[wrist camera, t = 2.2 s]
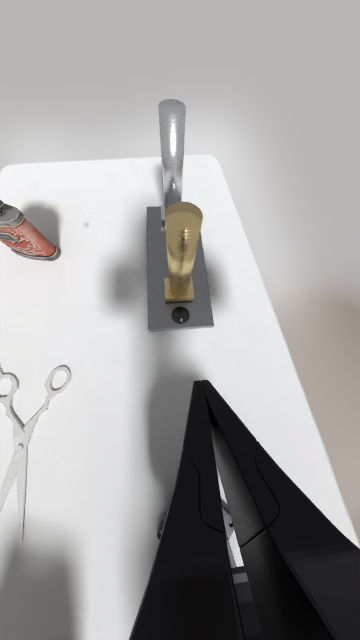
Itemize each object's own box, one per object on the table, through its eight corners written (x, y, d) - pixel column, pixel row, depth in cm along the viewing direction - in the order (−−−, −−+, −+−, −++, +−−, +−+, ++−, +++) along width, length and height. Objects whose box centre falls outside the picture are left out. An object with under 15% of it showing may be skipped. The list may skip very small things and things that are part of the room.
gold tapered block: (193, 300, 23) (214, 232, 11) (165, 301, 23) (156, 234, 11) (191, 280, 24) (208, 198, 12) (164, 281, 24) (155, 199, 12)
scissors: (71, 355, 21) (50, 547, 15) (75, 355, 22) (56, 539, 16) (-6, 363, 21) (-59, 567, 15) (0, 363, 21) (-48, 558, 15)
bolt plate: (211, 327, 23) (262, 279, 10) (149, 331, 23) (115, 285, 9) (195, 212, 31) (212, 93, 17) (147, 212, 30) (126, 91, 17)
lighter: (12, 255, 26) (-84, 192, 16) (21, 240, 27) (-64, 172, 17) (56, 263, 26) (-14, 204, 16) (63, 248, 27) (2, 184, 17)
